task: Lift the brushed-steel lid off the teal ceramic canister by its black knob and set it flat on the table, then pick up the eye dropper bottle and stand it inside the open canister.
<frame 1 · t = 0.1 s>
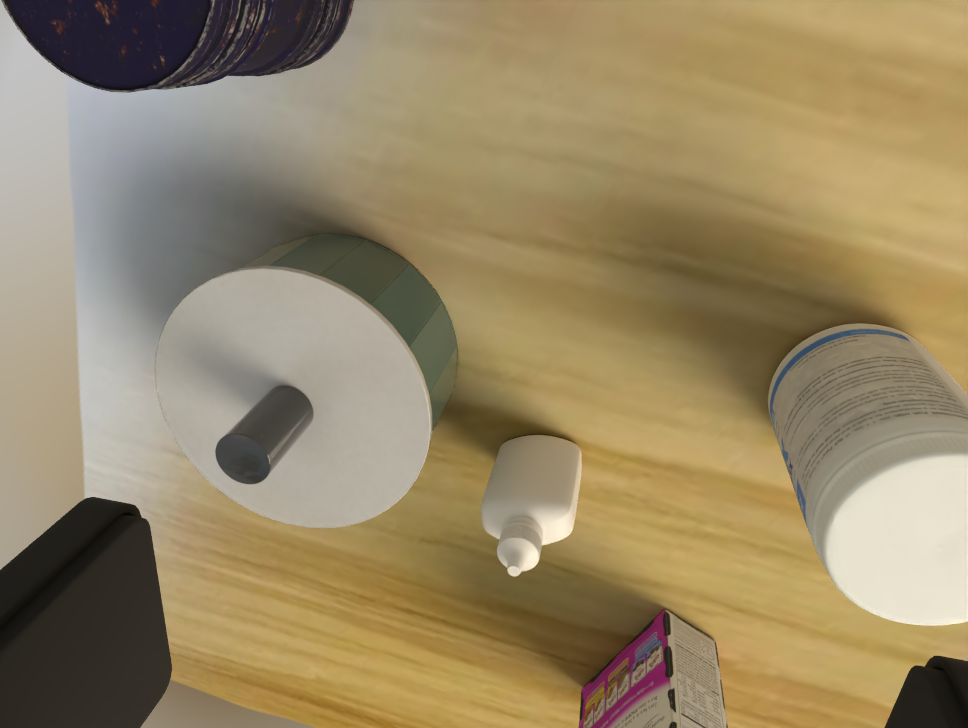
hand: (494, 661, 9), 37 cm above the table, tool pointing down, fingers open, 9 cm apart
canister: (345, 346, 50), on the table
eye dropper bottle: (541, 453, 51), on the table
supplement tub: (849, 390, 45), on the table
lid: (292, 404, 43), point 8 cm above the table, touching canister
candy bar box: (648, 662, 57), on the table
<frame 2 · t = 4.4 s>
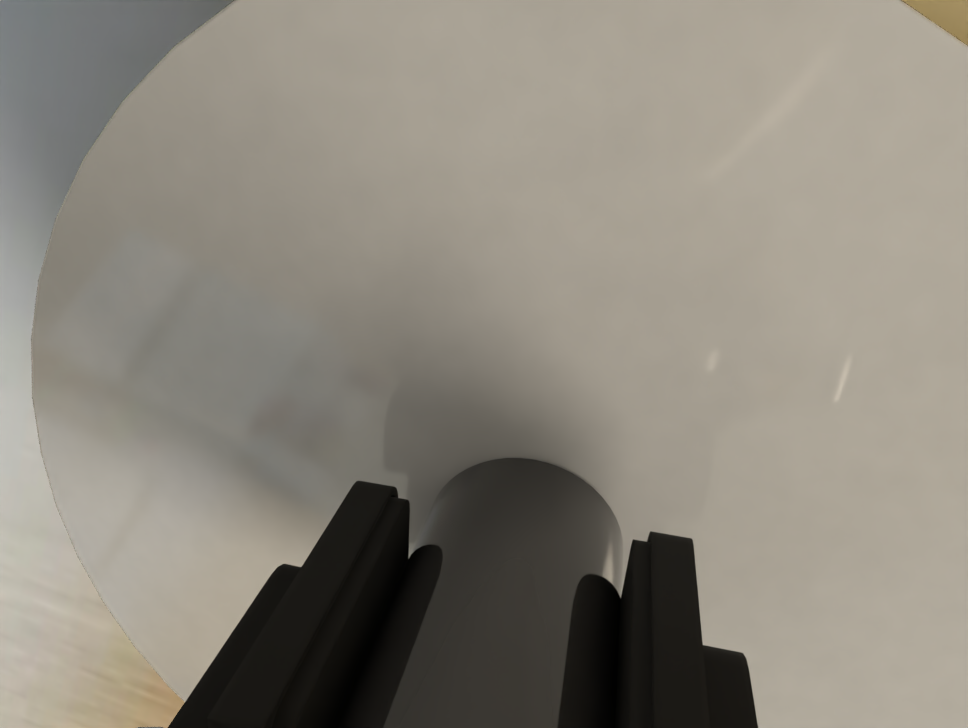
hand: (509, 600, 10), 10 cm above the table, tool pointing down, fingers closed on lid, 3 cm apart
lid: (528, 520, 12), point 9 cm above the table, touching canister, gripper
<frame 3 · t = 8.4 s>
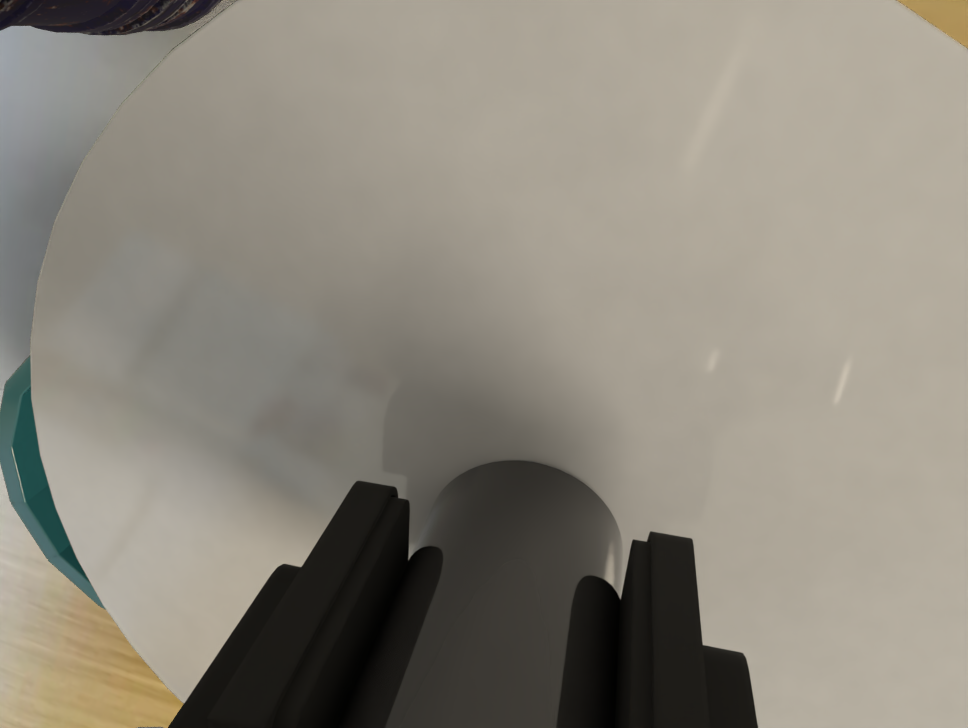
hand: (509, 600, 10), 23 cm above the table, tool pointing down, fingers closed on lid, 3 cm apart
canister: (266, 406, 38), on the table
lid: (527, 523, 12), point 21 cm above the table, touching gripper
when the fingers open (2 cm above the table, at t = 12.9 s): lid stays where it is, point 1 cm above the table.
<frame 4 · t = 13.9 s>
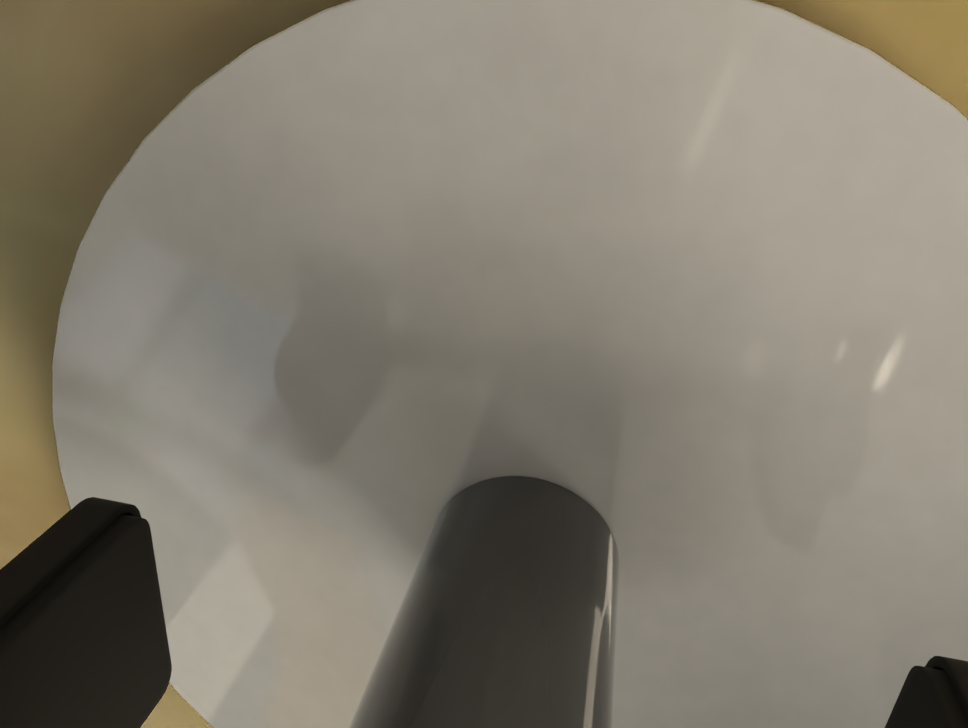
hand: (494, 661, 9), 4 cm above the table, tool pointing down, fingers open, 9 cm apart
lid: (528, 535, 12), point 1 cm above the table
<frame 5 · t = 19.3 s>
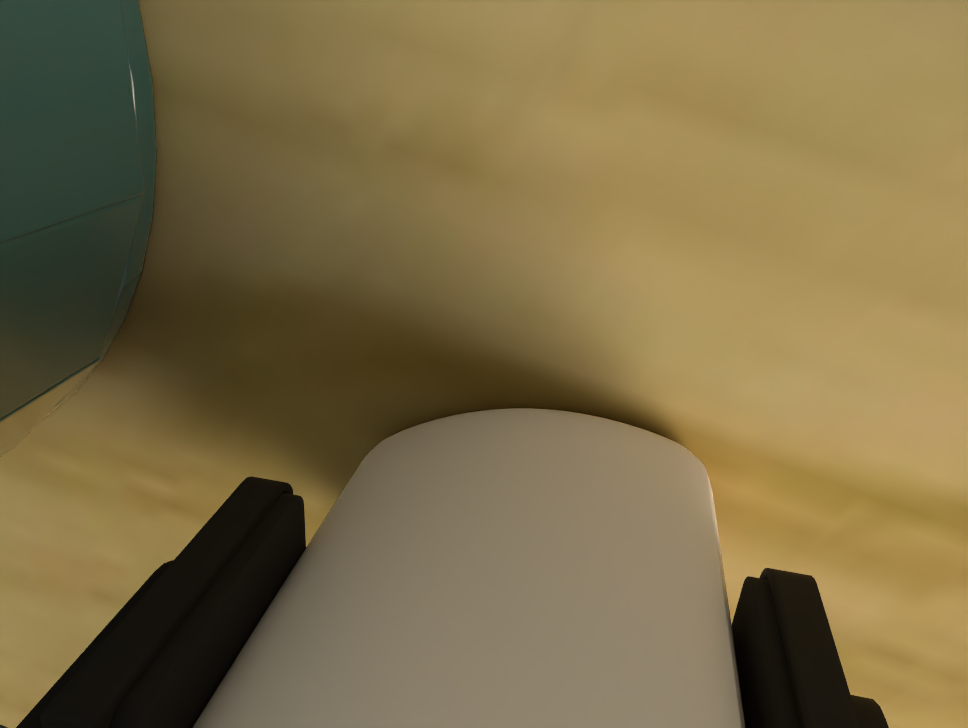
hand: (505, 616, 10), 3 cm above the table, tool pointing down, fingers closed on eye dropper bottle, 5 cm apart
eye dropper bottle: (536, 485, 13), on the table, touching gripper
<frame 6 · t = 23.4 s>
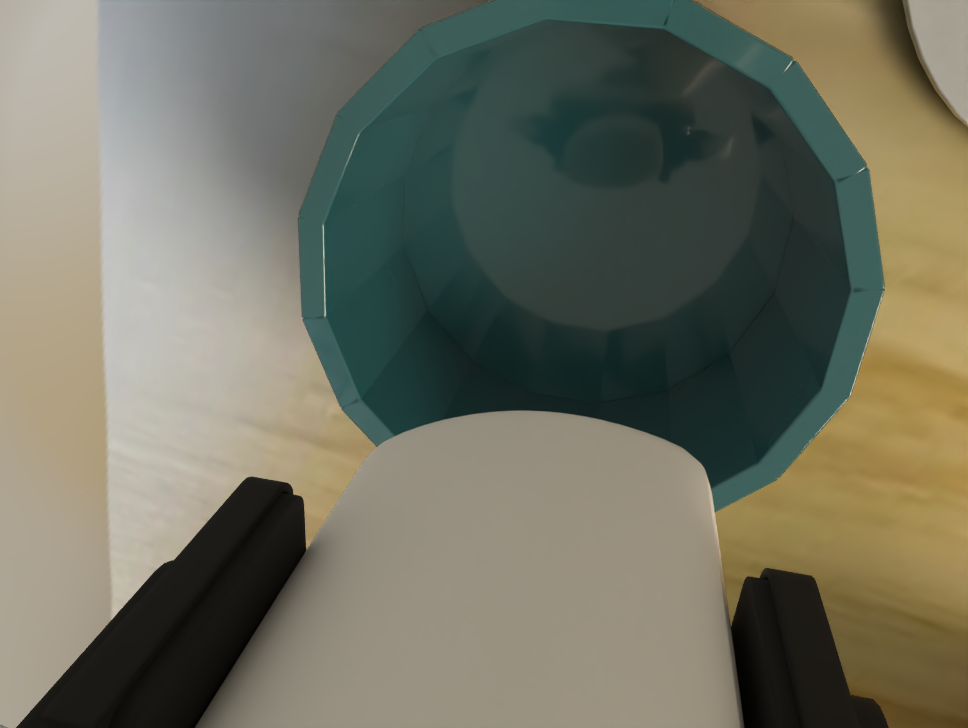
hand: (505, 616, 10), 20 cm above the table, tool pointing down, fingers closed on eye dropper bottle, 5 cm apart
canister: (588, 227, 28), on the table
eye dropper bottle: (536, 487, 13), point 17 cm above the table, touching gripper
when the fingers open (3 cm above the table, at t = 27.7 s): eye dropper bottle stays where it is, resting on canister.
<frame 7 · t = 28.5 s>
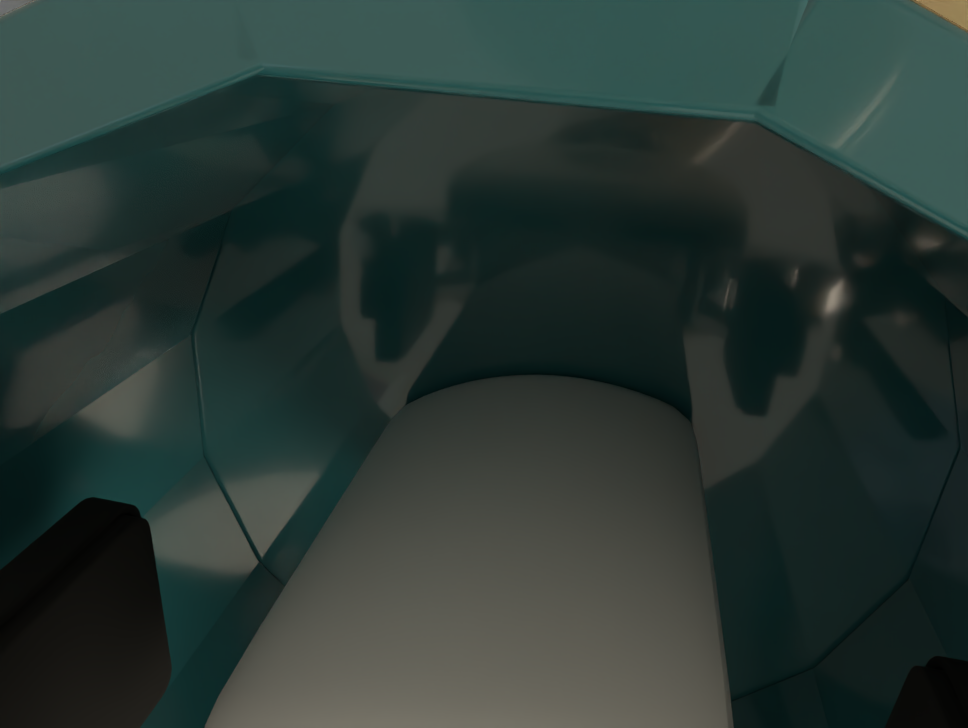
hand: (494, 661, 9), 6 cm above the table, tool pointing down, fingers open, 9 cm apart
canister: (543, 438, 15), on the table
eye dropper bottle: (542, 446, 14), resting on canister
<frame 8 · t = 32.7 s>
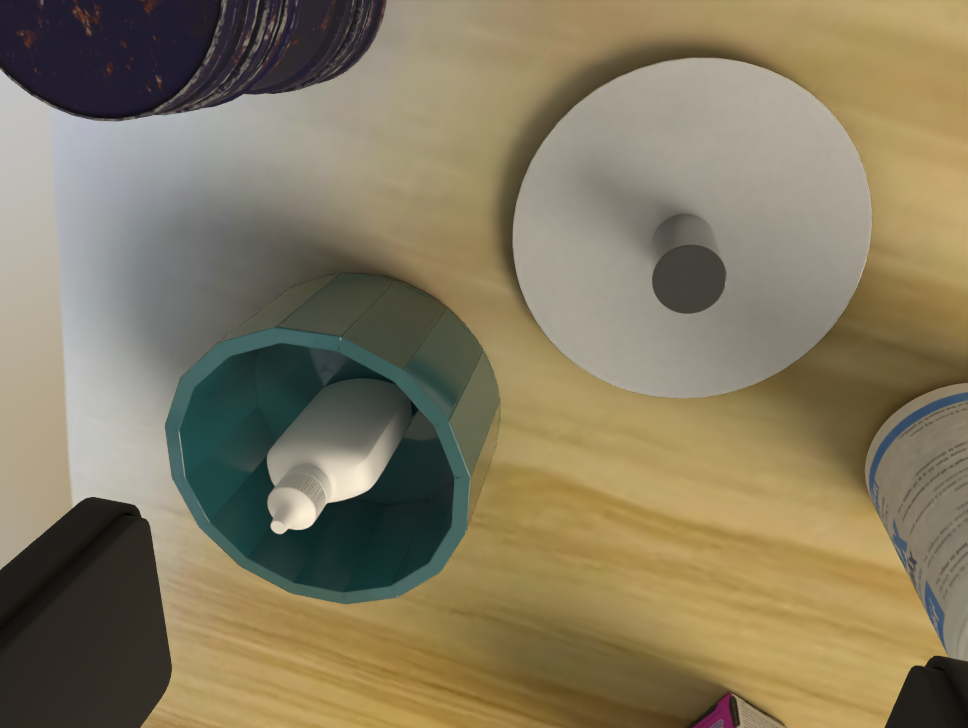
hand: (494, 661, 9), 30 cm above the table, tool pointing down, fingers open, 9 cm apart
canister: (370, 399, 44), on the table
eye dropper bottle: (369, 401, 44), resting on canister
supplement tub: (960, 456, 39), on the table
lid: (682, 241, 36), point 1 cm above the table
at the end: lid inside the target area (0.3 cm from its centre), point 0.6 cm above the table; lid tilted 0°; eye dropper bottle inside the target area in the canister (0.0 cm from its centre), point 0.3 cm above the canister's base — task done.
